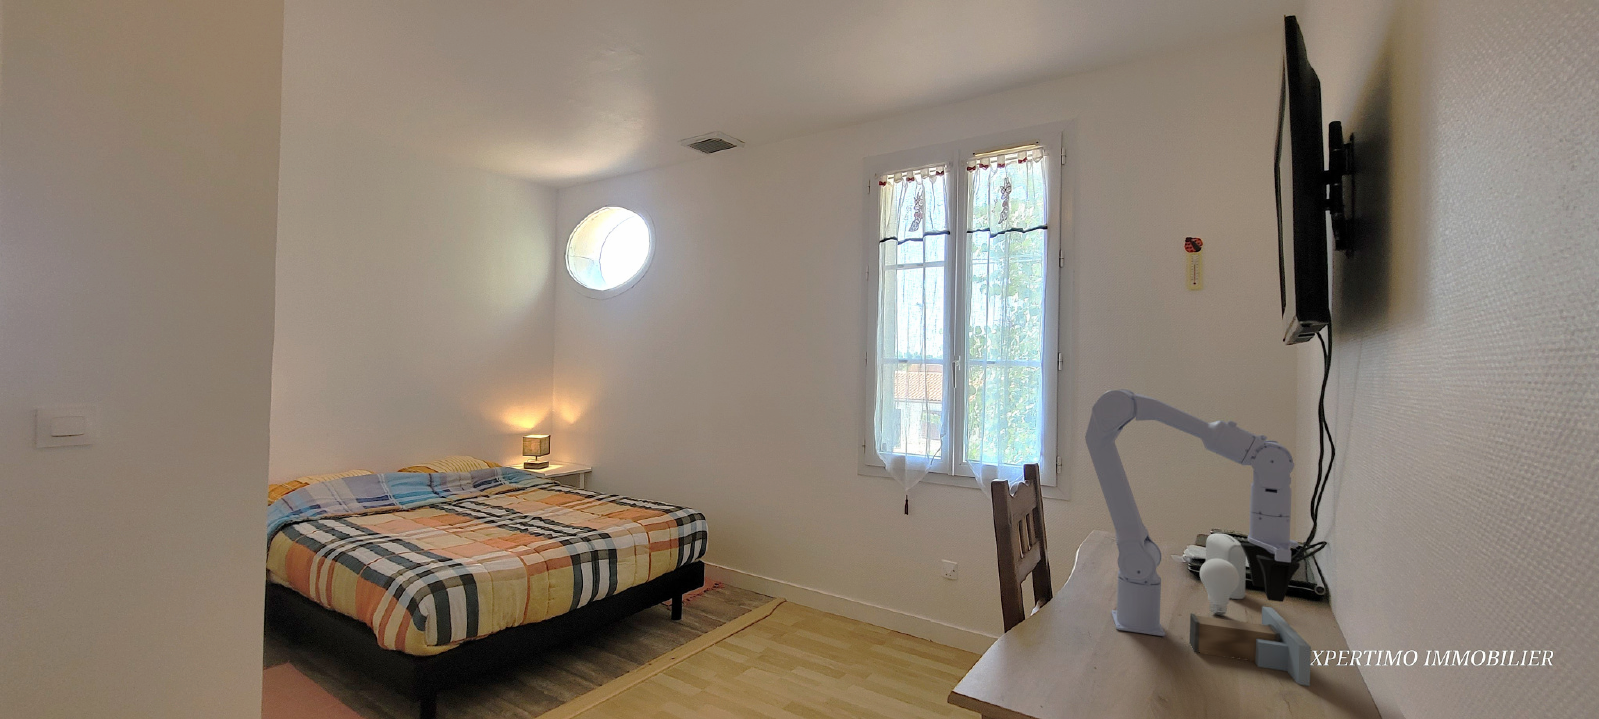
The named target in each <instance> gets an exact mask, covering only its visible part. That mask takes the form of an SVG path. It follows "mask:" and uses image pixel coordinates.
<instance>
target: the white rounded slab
mask: <svg viewBox="0 0 1599 719" xmlns="http://www.w3.org/2000/svg"><path fill="white" fill-rule="evenodd" d="M1241 543H1242V542H1240V541H1239V540H1237V539H1236V538H1235V537H1233V536H1231V535H1229V534H1226V533H1218V532H1217V533H1212V534H1209V535H1208V537H1207V539H1206V541H1205V562H1206V561H1208V560H1210V559H1223V560H1226V561H1228V562H1229V563H1231V564H1232V565H1233V566H1234V567H1235V568H1236V570H1237V572H1238V574H1239V584H1238V586H1237V587H1236V589H1235V590H1234V591H1233V592H1232V594H1231V595H1230V597H1229V599H1231V600H1232V599H1233V600H1243V599H1244V598H1245V597H1246V565H1247V563H1246V562H1247V557H1246V555H1245V552H1244V550H1243V548H1242V546H1241Z"/></svg>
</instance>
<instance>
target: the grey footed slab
mask: <svg viewBox="0 0 1599 719" xmlns="http://www.w3.org/2000/svg"><path fill="white" fill-rule="evenodd" d="M1268 624H1271V625H1273V626H1274V627H1275V629H1276V630H1277V631H1278V632H1279V633H1280V642H1276V641H1269V640H1262V639H1256V661H1254V662H1255V665H1257V667H1258V668H1263V669H1270V670H1277V671H1285V672H1287V673H1288V674H1289V675H1290V676H1291V678H1292V679H1293V680H1294V681H1295V682H1296V684H1297V685H1300V686H1307V687H1310V685H1311V660H1312V658H1311V656H1312V655H1311V652H1312V651H1311V650H1312V646H1311V645H1310V644H1309V643H1308V642H1307V641H1306V640H1305V639H1304V638H1303V637H1302V636H1300V635H1299V633H1298V632H1297V631H1296V630H1295V629H1294V628H1293V627H1292V626H1291V625H1290V624H1289V623H1288V622H1287V621H1286V620H1285V619H1284V618H1283V617H1282V616H1281V615H1280V614H1279V613H1278V612H1277V611H1276V610H1275V609H1274V608H1273V607H1270V606H1264V605H1263V606H1261V625H1268Z"/></svg>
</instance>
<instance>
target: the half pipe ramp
mask: <svg viewBox="0 0 1599 719" xmlns="http://www.w3.org/2000/svg"><path fill="white" fill-rule="evenodd" d="M1189 619H1190V620H1189V645H1190V644H1191V645H1190V646H1192V647H1191V649H1192V648H1193V649H1192V651H1193V652H1194V653H1195V652H1197V653H1196V654H1203V653H1207V654H1206V655H1209V654H1210V656H1216V655H1218V657H1222V656H1228V657H1227V658H1229V657H1234V658H1233V659H1235V658H1240V659H1239V660H1242V659H1247V660H1246V661H1248V660H1250V662H1255V661H1256V639H1262V640H1269V641H1276V642H1280V633H1279V632H1278V631H1277V630H1276V629H1275V627H1274V626H1273V625H1271V624H1268V625H1262V623H1261V624H1259V623H1253V622H1246V621H1240V620H1239V621H1238V620H1231V619H1225V618H1223V619H1222V618H1216V617H1209V616H1201V615H1196V614H1195V613H1190V618H1189ZM1198 652H1200V653H1198Z"/></svg>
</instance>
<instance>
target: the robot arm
mask: <svg viewBox="0 0 1599 719" xmlns="http://www.w3.org/2000/svg"><path fill="white" fill-rule="evenodd" d="M1134 419H1135V421H1138V422H1139V421H1157V422H1159V423H1161V424H1164V425H1166V426H1169V427H1172V428H1174V429H1176V430H1178V431H1182V432H1184V433H1185V434H1189V435H1191V436H1194V437H1196V438H1198V439H1200V440H1201V441H1202V444H1203V447H1204V449H1206V450H1208V451H1210V452H1212V453H1214V454H1216V455H1219V456H1221V457H1223V458H1226V459H1228V460H1230V461H1232V462H1235V463H1237V464H1239V465H1241V466H1243V467H1245V466H1251V467H1252V470H1253V473H1252V475H1253V476H1252V483H1251V484H1250V494H1249V495H1250V496H1249V498H1250V500H1249V523H1248V524H1249V525H1248V526H1249V528H1248V530H1249V532H1248V535H1247V542H1240V543H1241V546H1242V548H1243V550H1244V552H1245V555H1246V561H1247V563H1248V567H1249V572H1250V577H1251V579H1250V580H1251V583H1252V585H1253V587H1259V588H1261V587H1262V588H1264V591H1265V595H1266V598H1267V599H1266V600H1268V601H1272V602H1280V603H1281V602H1284V600H1285V598H1286V594H1287V591H1288V589H1289V585H1290V582H1291V580H1292V578H1293V576H1294V575H1295V574H1296V572H1297V571H1298V570H1299V569H1300V567H1301V566H1300V565H1301V563H1300V562H1298V561H1297V560H1292V550H1291V547H1293V548H1295V547H1296V548H1299V542H1298V541H1297V540H1295V539H1291V516H1292V513H1291V512H1292V488H1291V486H1290V485H1291V484H1292V477H1291V474H1292V472H1293V470H1294V468H1295V462H1294V458H1293V456H1292V454H1291V452H1290V451H1289V449H1288V448H1287V447H1286V446H1284V445H1283V444H1282V443H1279V442H1278V441H1277V440H1271V439H1270V440H1269V439H1268V436H1267V435H1264V434H1262V433H1261V434H1260V435H1258V434H1255V433H1253V432H1251V431H1248V430H1246V429H1244V428H1241V427H1239V426H1237V425H1238V423H1237V422H1236V421H1233V420H1232V419H1231V420H1228V422H1227V421H1225V420H1216V421H1213V422H1207V421H1206V420H1203V419H1201V418H1199V417H1196V416H1194V415H1193V414H1190V413H1188V412H1186V411H1184V410H1182V409H1180V408H1177V407H1175V406H1172V405H1170V404H1169V403H1166V402H1164V401H1163V400H1160V399H1157V398H1154V397H1151V396H1149V395H1145V394H1141V393H1135V392H1133V391H1131V390H1129V389H1125V388H1122V389H1121V388H1120V389H1119V388H1118V389H1112V390H1107V391H1106V392H1104V393H1103V394H1101V395H1100V397H1099V398H1098V399H1097V400H1096V402H1095V403H1094V404H1093V406H1092V407H1091V414H1090V419H1089V422H1088V425H1087V430H1086V432H1085V435H1084V438H1085V444H1086V447H1087V449H1088V452H1089V454H1090V455H1089V456H1090V458H1091V460H1092V464H1093V467H1094V471H1095V473H1096V477H1097V479H1098V483H1099V485H1100V488H1101V490H1102V493H1103V494H1102V495H1103V496H1104V500H1105V502H1106V506H1107V509H1108V512H1109V515H1110V518H1111V521H1112V524H1113V526H1114V530H1115V540H1116V541H1115V543H1116V546H1117V550H1118V557H1117V566H1118V571H1117V586H1116V587H1117V589H1116V590H1117V592H1116V593H1117V594H1116V610H1114V609H1113V610H1112V609H1111V611H1110V612H1111V616H1112V619H1113V623H1114V626H1115V629H1116V630H1119V631H1125V632H1132V633H1139V634H1147V635H1150V636H1151V635H1153V636H1159V637H1166V633H1165V630H1164V629H1163V626H1162V624H1161V623H1160V622H1161V598H1162V597H1161V596H1162V595H1161V594H1162V593H1161V589H1162V578H1161V577H1160V575H1159V574H1158V572H1157V567H1158V566H1159V565H1160V564H1161V561H1162V551H1161V549H1160V548H1159V546H1158V544H1156V543H1155V542H1154V541H1153V540H1152V538H1151V537H1150V536H1151V535H1150V534H1149V531H1148V529H1147V527H1146V525H1145V524H1144V522H1143V521H1142V518H1141V515H1140V512H1139V509H1138V507H1137V502H1136V500H1135V497H1134V495H1133V491H1132V489H1131V486H1130V482H1129V480H1128V477H1127V474H1126V471H1125V469H1124V468H1125V467H1124V466H1123V462H1122V460H1121V456H1120V453H1119V450H1118V448H1117V444H1116V440H1117V439H1118V437H1119V436H1120V434H1121V432H1122V431H1123V429H1124V427H1125V426H1126V425H1128V424H1129V423H1130V422H1131V421H1133V420H1134ZM1267 439H1268V440H1267Z"/></svg>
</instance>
